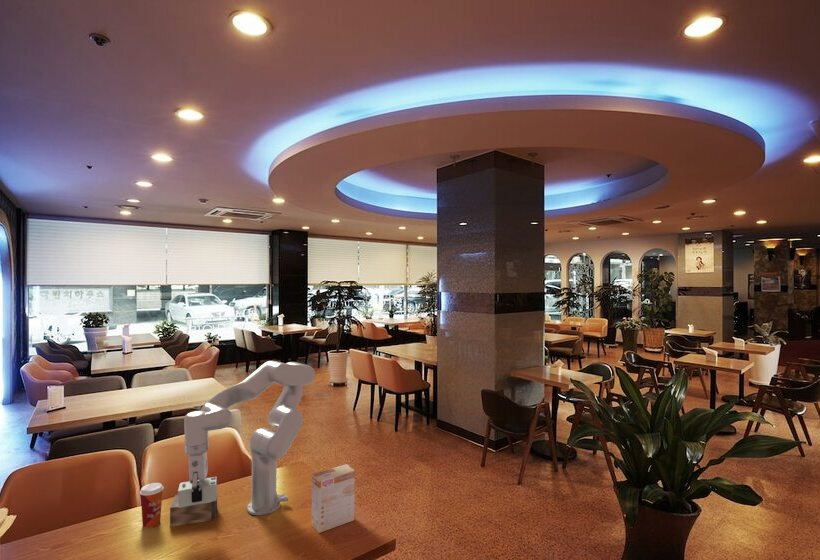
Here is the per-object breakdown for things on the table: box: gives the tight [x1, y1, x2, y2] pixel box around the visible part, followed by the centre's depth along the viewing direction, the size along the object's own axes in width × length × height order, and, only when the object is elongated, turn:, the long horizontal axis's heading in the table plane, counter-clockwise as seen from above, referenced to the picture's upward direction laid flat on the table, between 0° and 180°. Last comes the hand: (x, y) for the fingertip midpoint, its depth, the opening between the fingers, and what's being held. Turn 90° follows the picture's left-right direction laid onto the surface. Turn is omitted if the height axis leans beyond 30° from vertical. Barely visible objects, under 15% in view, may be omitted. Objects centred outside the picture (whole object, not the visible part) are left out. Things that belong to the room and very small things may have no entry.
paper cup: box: [139, 482, 164, 529], centre depth 163 cm, size 8×8×14 cm
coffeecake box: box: [311, 463, 356, 534], centre depth 166 cm, size 15×7×20 cm, turn 126°
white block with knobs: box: [177, 476, 218, 508], centre depth 156 cm, size 12×6×7 cm, turn 111°
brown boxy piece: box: [169, 494, 218, 527], centre depth 169 cm, size 15×10×10 cm, turn 108°
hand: (198, 496), depth 156 cm, fingers closed on white block with knobs, 6 cm apart
